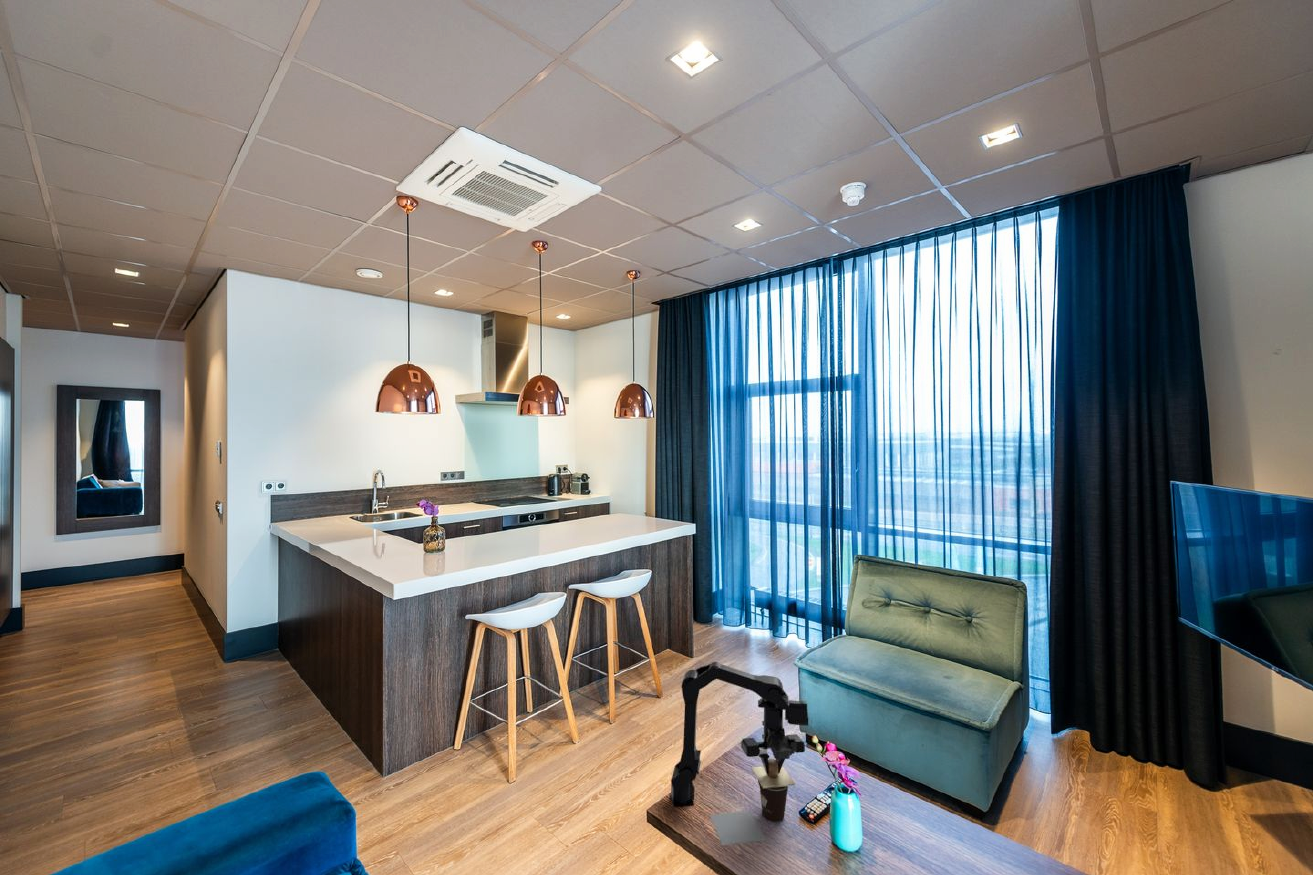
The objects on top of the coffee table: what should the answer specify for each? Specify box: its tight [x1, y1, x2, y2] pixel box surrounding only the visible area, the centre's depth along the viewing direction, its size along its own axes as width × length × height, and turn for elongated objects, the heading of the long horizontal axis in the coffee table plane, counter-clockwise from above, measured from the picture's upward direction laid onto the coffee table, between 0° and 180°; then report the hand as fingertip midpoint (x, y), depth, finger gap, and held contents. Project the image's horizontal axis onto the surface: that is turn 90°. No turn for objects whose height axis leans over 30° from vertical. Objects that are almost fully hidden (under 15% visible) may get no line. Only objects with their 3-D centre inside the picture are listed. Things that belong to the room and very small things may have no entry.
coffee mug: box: [757, 780, 789, 823], centre depth 168 cm, size 12×9×10 cm
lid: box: [750, 758, 796, 788], centre depth 168 cm, size 10×10×4 cm
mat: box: [709, 810, 767, 847], centre depth 160 cm, size 13×13×1 cm
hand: (772, 773), depth 168 cm, fingers closed on lid, 3 cm apart
